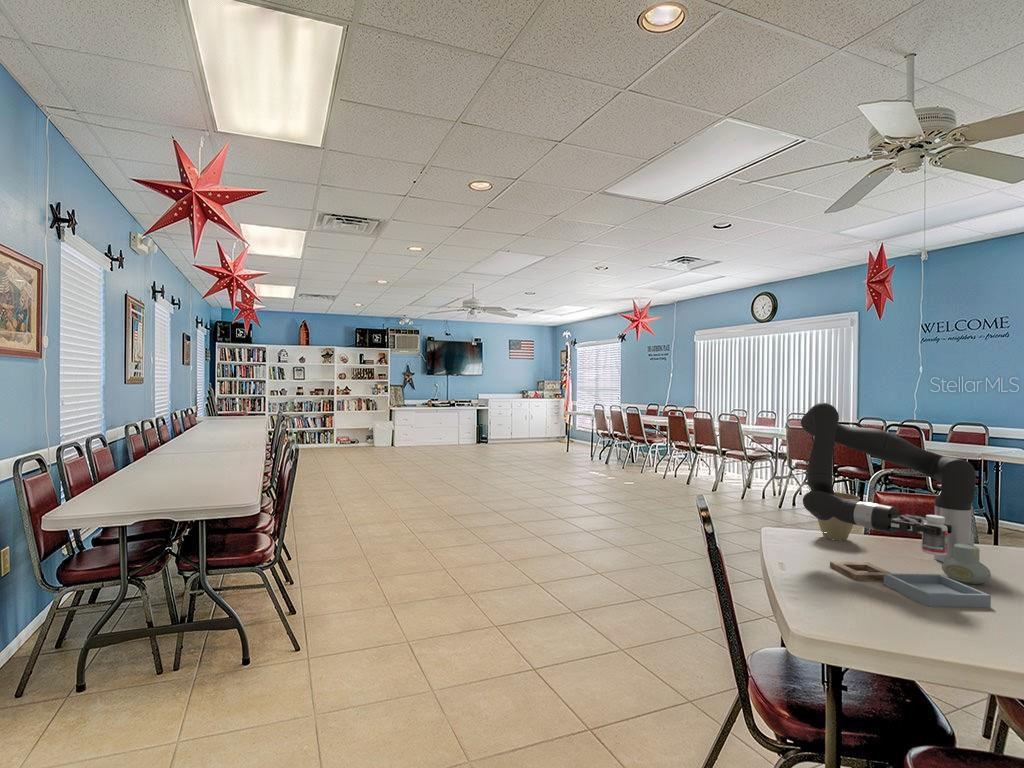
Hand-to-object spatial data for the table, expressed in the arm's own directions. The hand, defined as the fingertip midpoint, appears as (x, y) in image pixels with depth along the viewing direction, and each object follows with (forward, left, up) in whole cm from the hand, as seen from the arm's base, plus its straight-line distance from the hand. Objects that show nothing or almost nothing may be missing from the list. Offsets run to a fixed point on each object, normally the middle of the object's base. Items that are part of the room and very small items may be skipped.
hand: (946, 530), depth 145 cm
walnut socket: (+9, -19, -18) cm, 28 cm away
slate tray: (+1, -2, -18) cm, 18 cm away
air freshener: (-18, -14, -18) cm, 29 cm away
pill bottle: (+1, -2, -7) cm, 7 cm away
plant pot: (-8, -59, -18) cm, 62 cm away
